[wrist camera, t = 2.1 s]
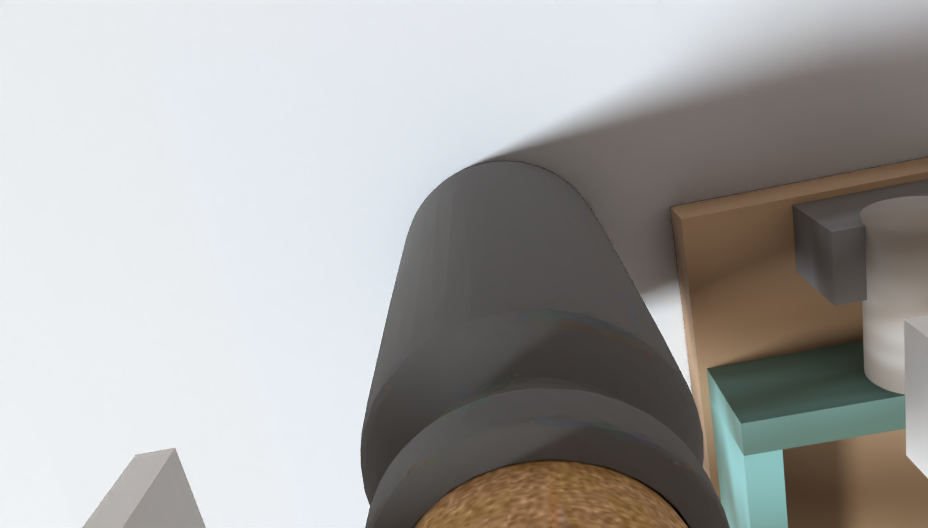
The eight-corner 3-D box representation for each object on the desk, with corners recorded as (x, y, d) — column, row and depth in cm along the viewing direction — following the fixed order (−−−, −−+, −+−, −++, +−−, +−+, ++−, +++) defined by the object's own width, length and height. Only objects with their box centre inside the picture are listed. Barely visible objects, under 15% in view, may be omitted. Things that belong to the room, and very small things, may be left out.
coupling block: (670, 206, 22) (722, 264, 18) (1027, 137, 21) (1178, 179, 17) (726, 687, 29) (775, 819, 24) (1002, 646, 28) (1105, 775, 23)
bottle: (379, 309, 23) (246, 811, 9) (443, 128, 21) (398, 415, 7) (556, 368, 24) (686, 921, 10) (634, 198, 22) (932, 583, 8)
